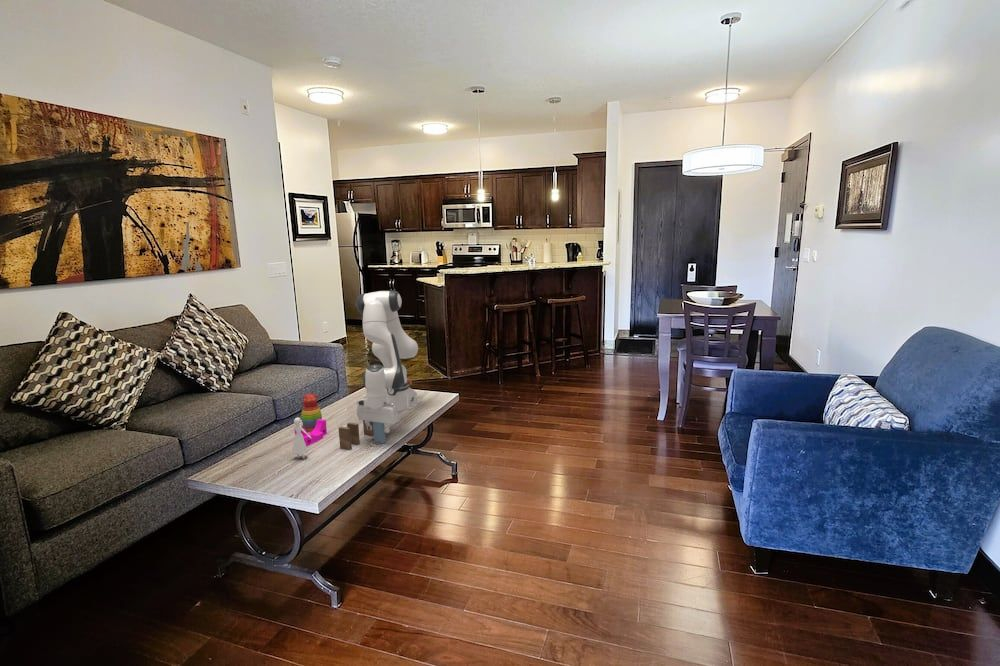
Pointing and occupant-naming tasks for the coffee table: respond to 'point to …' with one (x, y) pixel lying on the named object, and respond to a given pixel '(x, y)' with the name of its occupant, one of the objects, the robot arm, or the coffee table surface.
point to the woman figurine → (299, 439)
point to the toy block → (315, 432)
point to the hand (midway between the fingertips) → (378, 430)
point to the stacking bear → (310, 412)
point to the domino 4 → (379, 432)
